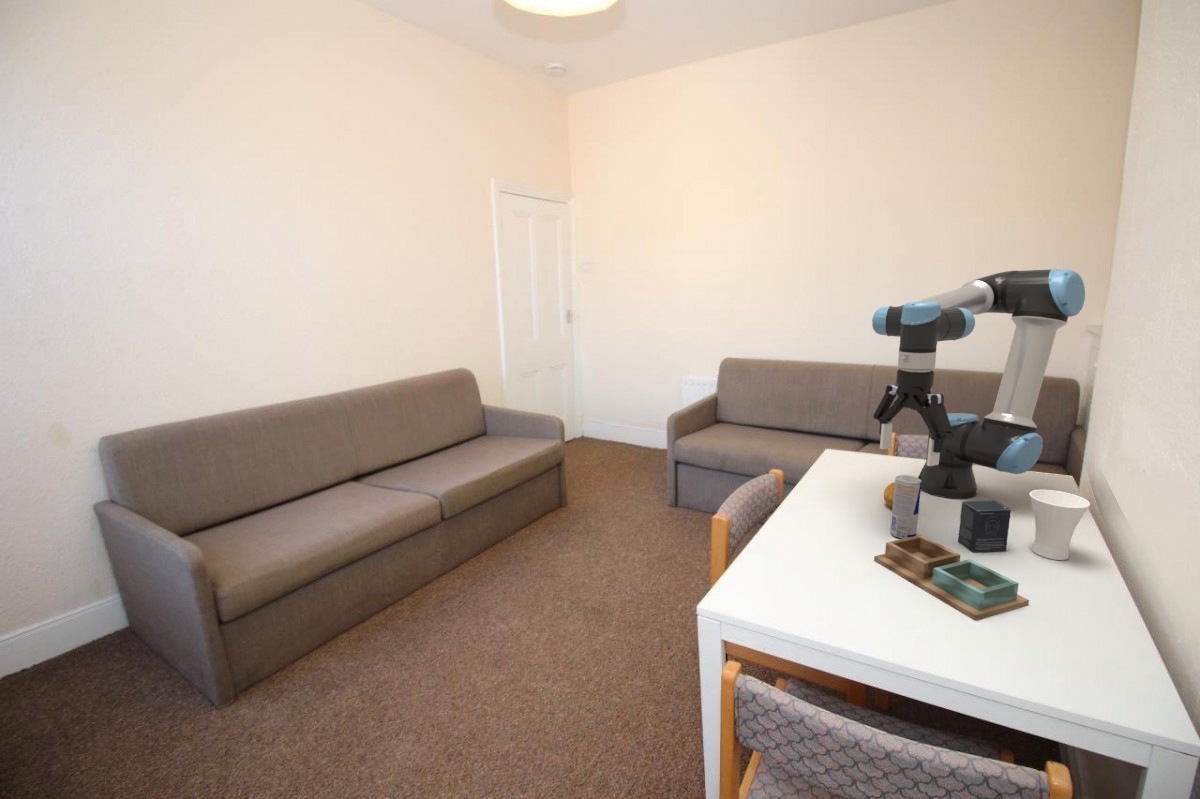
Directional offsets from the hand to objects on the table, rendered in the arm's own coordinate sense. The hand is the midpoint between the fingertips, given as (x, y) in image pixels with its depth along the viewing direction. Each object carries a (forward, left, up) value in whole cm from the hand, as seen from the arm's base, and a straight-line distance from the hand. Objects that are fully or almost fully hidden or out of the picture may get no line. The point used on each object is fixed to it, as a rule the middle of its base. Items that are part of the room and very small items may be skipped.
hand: (907, 456), depth 131 cm
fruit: (-13, -13, -21) cm, 28 cm away
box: (-12, +11, -21) cm, 27 cm away
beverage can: (0, 0, -21) cm, 21 cm away
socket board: (+9, +19, -20) cm, 29 cm away
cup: (-23, +19, -21) cm, 37 cm away
